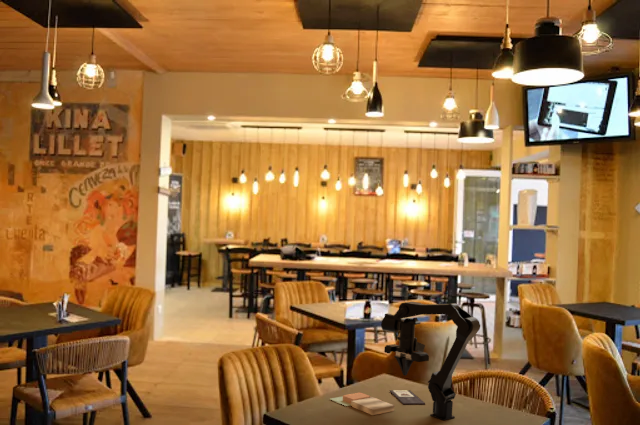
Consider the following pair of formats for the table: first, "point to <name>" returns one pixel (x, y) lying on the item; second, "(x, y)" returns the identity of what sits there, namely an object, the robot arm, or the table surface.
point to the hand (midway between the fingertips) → (404, 375)
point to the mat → (340, 401)
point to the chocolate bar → (407, 397)
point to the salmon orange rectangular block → (354, 397)
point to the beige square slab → (372, 406)
